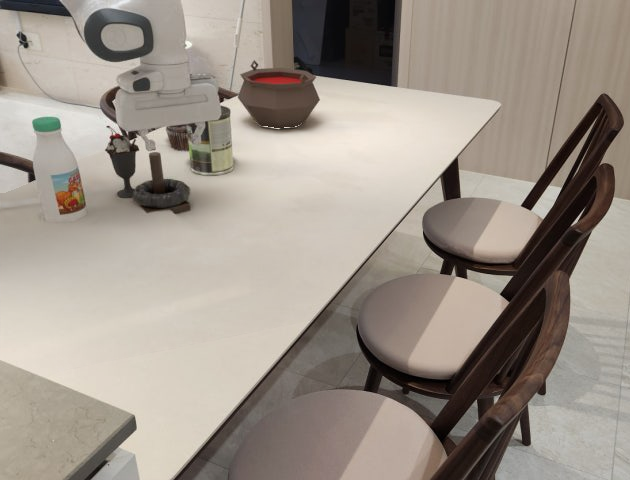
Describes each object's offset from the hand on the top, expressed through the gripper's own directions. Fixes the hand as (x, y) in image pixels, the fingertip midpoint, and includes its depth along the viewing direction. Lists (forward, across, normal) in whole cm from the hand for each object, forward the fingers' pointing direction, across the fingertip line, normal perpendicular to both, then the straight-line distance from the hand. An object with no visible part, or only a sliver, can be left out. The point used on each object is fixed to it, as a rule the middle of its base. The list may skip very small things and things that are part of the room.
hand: (174, 146), depth 128 cm
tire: (+10, +4, 0) cm, 10 cm away
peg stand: (+12, +4, 0) cm, 13 cm away
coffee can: (+12, -14, -16) cm, 25 cm away
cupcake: (+12, -15, -35) cm, 41 cm away
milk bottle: (+13, +22, -3) cm, 25 cm away
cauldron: (+12, -47, -43) cm, 65 cm away
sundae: (+13, +8, -10) cm, 18 cm away
